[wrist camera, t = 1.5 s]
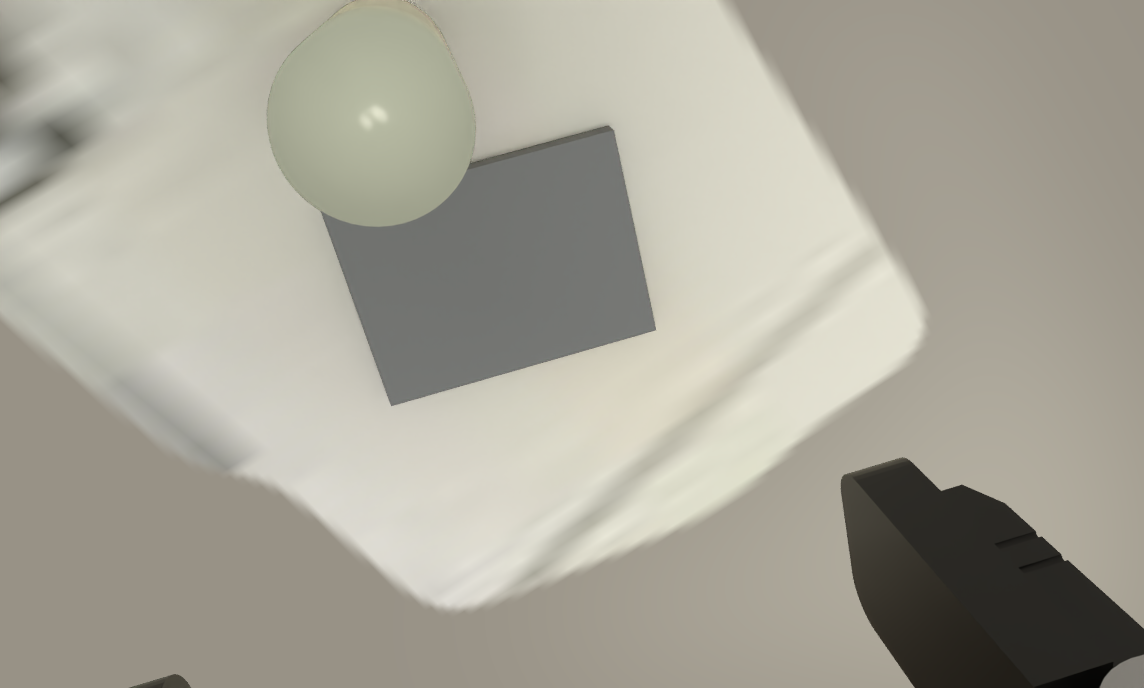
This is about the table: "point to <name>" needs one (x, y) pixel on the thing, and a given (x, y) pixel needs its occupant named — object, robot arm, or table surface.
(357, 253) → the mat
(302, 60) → the canister
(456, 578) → the table surface
